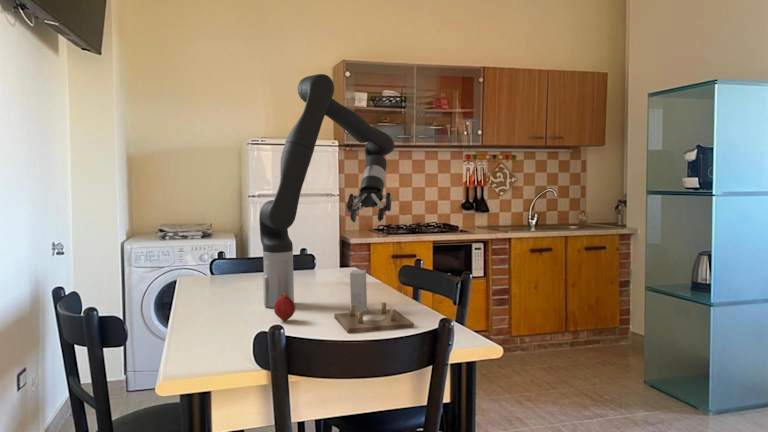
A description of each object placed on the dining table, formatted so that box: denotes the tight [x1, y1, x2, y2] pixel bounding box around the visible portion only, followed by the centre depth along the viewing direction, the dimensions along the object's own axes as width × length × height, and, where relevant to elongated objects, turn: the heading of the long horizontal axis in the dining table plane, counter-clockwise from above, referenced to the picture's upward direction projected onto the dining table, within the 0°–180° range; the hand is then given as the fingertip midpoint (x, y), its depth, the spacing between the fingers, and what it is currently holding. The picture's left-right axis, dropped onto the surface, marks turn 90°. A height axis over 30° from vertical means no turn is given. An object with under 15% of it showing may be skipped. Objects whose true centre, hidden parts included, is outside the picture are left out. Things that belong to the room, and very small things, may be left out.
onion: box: [273, 293, 296, 322], centre depth 175 cm, size 6×6×8 cm
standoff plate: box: [333, 302, 415, 334], centre depth 172 cm, size 18×18×4 cm
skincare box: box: [349, 269, 368, 312], centre depth 187 cm, size 6×4×12 cm
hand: (366, 220), depth 196 cm, fingers open, 8 cm apart
